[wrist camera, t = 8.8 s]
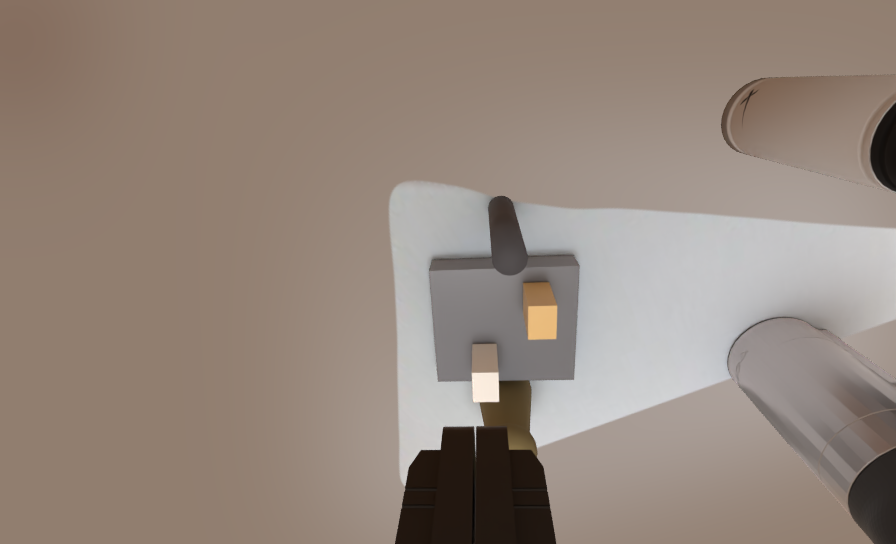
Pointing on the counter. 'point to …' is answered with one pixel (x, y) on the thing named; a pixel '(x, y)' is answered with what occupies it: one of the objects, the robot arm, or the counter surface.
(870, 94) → the travel mug
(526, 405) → the olive knobbed post
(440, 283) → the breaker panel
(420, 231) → the counter surface
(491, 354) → the cream rectangular block
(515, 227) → the post
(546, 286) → the block
